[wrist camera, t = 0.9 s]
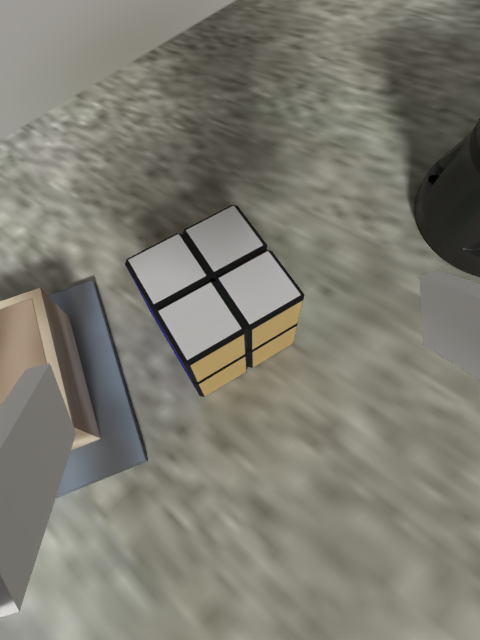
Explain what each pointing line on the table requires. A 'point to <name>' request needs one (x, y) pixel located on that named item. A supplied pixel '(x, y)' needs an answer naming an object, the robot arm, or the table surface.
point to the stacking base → (102, 395)
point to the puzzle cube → (218, 297)
